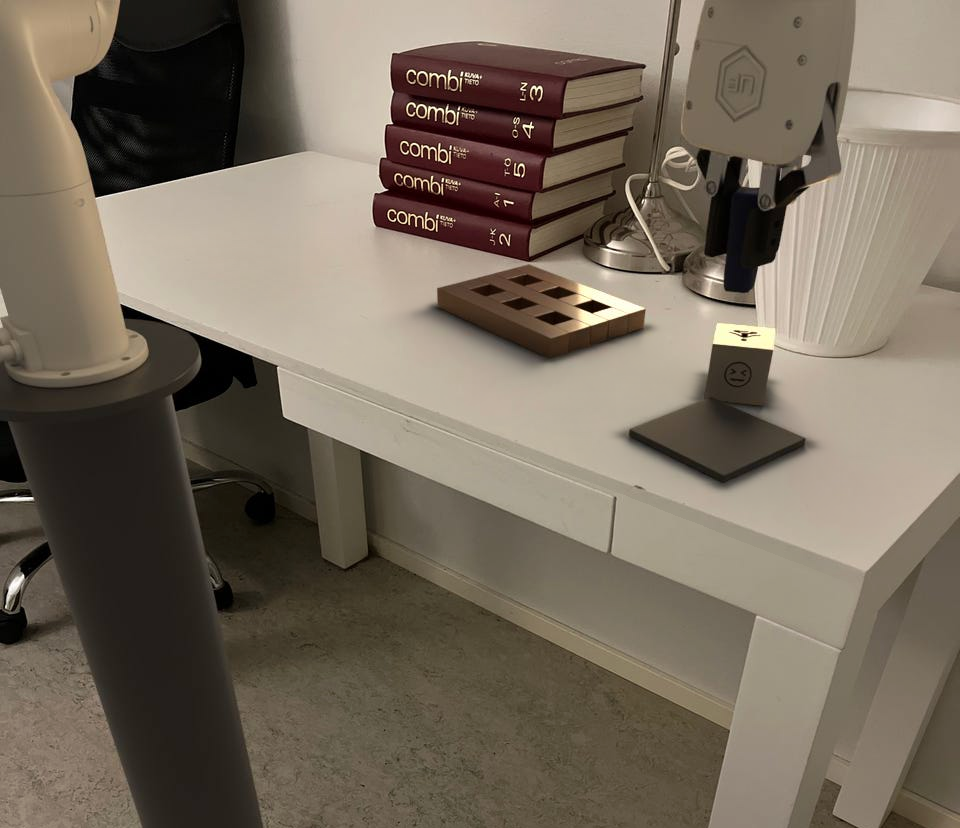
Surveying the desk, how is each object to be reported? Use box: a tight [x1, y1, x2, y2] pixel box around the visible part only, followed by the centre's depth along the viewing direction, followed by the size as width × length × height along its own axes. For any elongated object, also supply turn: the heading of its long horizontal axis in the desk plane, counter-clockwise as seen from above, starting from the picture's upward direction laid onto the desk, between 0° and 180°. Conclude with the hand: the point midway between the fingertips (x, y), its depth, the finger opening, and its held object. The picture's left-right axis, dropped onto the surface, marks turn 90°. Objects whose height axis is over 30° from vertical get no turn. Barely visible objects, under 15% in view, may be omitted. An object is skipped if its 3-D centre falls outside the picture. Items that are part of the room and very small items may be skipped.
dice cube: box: [703, 322, 776, 407], centre depth 84 cm, size 5×5×5 cm
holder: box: [436, 264, 646, 359], centre depth 100 cm, size 13×18×2 cm
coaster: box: [628, 397, 807, 483], centre depth 78 cm, size 10×10×1 cm
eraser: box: [723, 186, 759, 294], centre depth 69 cm, size 2×2×7 cm
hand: (739, 256), depth 70 cm, fingers closed on eraser, 2 cm apart
